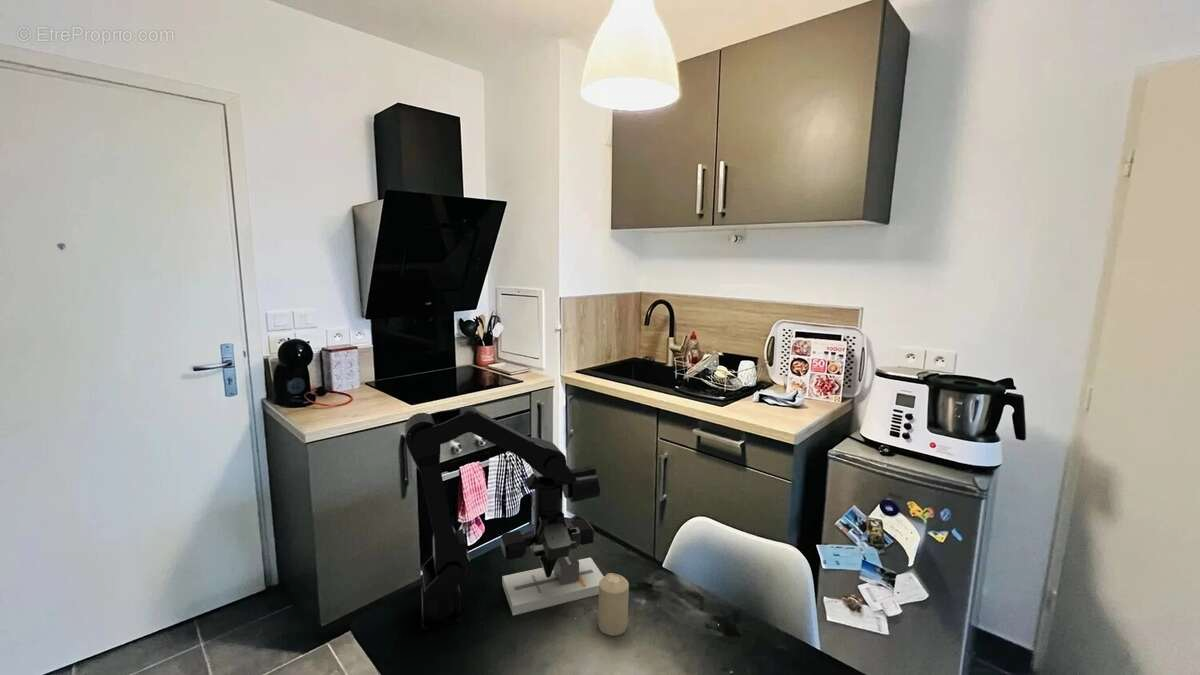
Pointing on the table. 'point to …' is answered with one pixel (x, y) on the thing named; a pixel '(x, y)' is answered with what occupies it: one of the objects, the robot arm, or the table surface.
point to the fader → (567, 569)
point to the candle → (613, 604)
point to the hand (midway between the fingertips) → (547, 576)
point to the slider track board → (549, 588)
